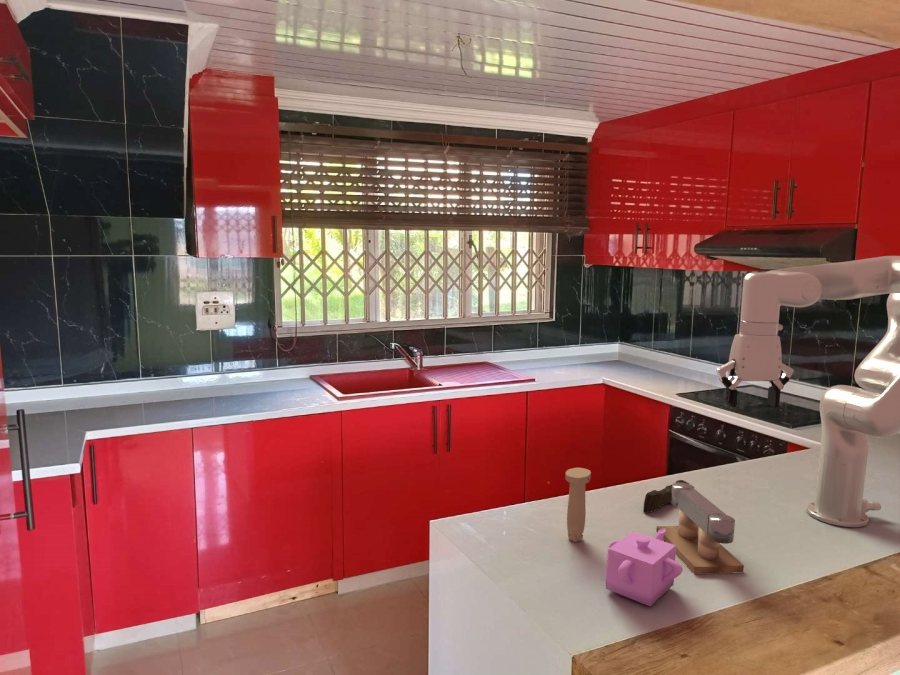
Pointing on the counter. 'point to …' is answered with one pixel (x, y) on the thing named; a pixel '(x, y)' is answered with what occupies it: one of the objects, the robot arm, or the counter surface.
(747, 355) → the robot arm
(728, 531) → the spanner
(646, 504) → the dark fuzzy dog bone
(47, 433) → the counter surface
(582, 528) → the handle
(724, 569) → the tool rest
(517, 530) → the counter surface
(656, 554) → the teapot
